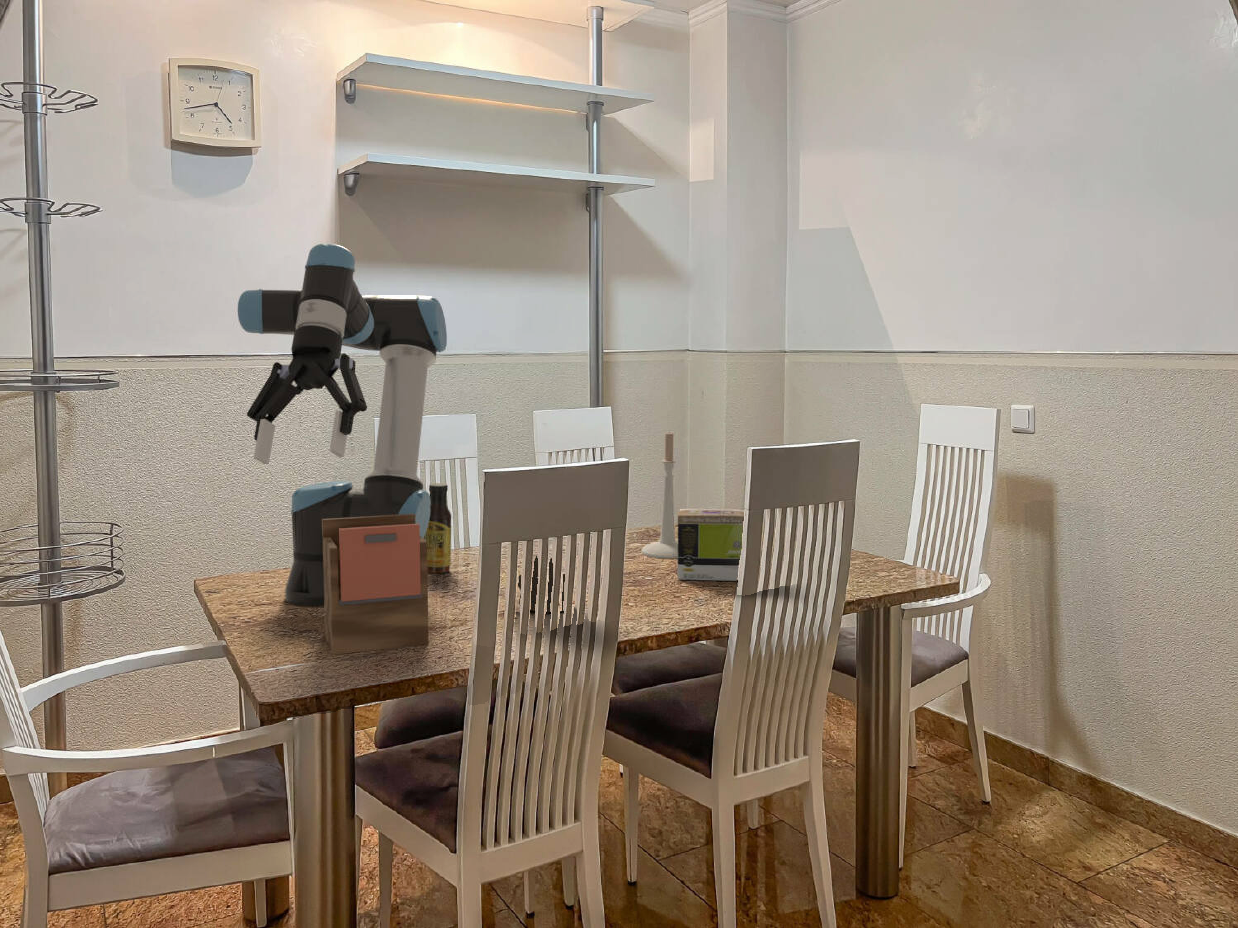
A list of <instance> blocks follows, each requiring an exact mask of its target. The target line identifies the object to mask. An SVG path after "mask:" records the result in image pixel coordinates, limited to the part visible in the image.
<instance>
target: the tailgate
mask: <svg viewBox="0 0 1238 928" xmlns="http://www.w3.org/2000/svg"><path fill="white" fill-rule="evenodd" d="M339 547H340V585H341V599H339V605H340V606H341V605H352V604H363V603H373V602H384V601H395V600H406V599H417V598H422V592H421V584H420V525H419V524H403V525H387V526H371V527H355V528H339Z"/></svg>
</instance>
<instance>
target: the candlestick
mask: <svg viewBox="0 0 1238 928" xmlns="http://www.w3.org/2000/svg"><path fill="white" fill-rule="evenodd" d="M664 435H665V436H664V442H665V443H664V459H662V460H661V462H662V464H663V466H662V467H663V469H664V471H665V472H664V473H665V474H664V481H663V495H662V507H661V508H662V510H661V524H660V534H659V535H660V537H659V541H655V542H651V543H649V544H646V545H645V546H643V547H642V548H641V551H640V552H641V554H642V555H643V556H645V557H649V558H655V559H656V558H657V559H662V560H663V559H669V560H670V559H672V560H673V559H676V560H677V559H678V541H677V540H676V533H675V506H674V474H673V470H674V468H675V464H676V462H677V460H674V433H673V432H666V433H664Z"/></svg>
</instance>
